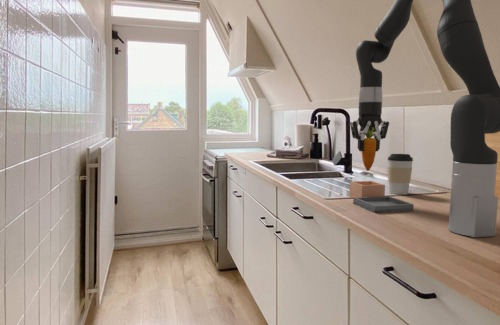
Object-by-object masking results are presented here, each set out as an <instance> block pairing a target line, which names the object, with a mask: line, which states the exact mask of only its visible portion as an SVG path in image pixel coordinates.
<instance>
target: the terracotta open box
mask: <svg viewBox="0 0 500 325" xmlns="http://www.w3.org/2000/svg"><path fill="white" fill-rule="evenodd" d="M348 194H349V198H352V199H353V198H355V197H380V196H386V184H384V183H380V182H377V181H373V180H358V181H356V180H354V181H351V180H350V181H349V193H348Z"/></svg>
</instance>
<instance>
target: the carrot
mask: <svg viewBox="0 0 500 325" xmlns="http://www.w3.org/2000/svg"><path fill="white" fill-rule="evenodd" d="M374 129H375V128H372V130H371V131H369V130H368V131H367V134H366V135H365V137H364V140H363V141H364V151H361V158H362V163H363V166H364V167H365V170H366V172H367V171H370V170H371V168H372V167H373V165H374V163H375V158H376V153H377V151H376V140H375V139H374V137H373V135H374V134H375V133H373V131H374ZM372 133H373V134H372Z"/></svg>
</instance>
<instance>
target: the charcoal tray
mask: <svg viewBox="0 0 500 325" xmlns="http://www.w3.org/2000/svg"><path fill="white" fill-rule="evenodd" d="M352 199H353V202H352V204H353V205H356V206H358V207H360V208H363V209H365V210H367V211H369V212H371V213H377V214H379V213H380V214H381V213H398V212H399V213H400V212H413V211H414V203H410V202H407V201H404V200H401V199H398V198H395V197H393V196H389V195H388V196H387V195H385V196H380V197H355V198H352Z"/></svg>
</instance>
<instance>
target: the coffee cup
mask: <svg viewBox="0 0 500 325" xmlns="http://www.w3.org/2000/svg"><path fill="white" fill-rule="evenodd" d="M413 161H414V159H413V157H412V156H411V155H410V153H390V155H389V156H388V157H387V181H388V193H389V194H393V195H409V189H410V183H411V178H412V169H413V167H412V166H413Z"/></svg>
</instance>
